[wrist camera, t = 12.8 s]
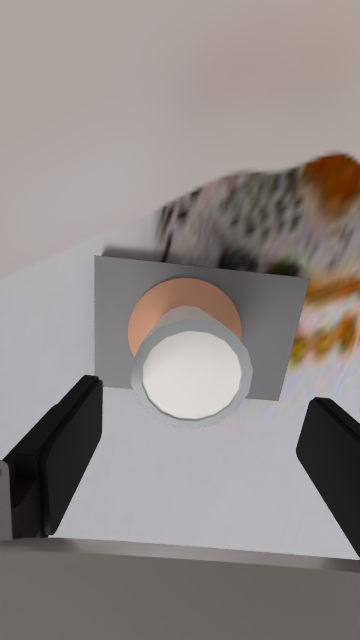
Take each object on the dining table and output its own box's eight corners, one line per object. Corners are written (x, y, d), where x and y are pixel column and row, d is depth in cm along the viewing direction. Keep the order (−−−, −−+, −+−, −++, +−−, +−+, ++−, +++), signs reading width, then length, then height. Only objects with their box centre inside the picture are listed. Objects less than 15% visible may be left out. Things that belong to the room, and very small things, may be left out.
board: (299, 277, 19) (310, 278, 17) (271, 391, 22) (278, 400, 20) (101, 256, 18) (94, 255, 17) (100, 377, 21) (94, 385, 20)
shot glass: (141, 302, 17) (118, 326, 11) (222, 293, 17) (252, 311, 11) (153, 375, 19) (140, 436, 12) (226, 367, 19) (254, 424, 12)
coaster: (249, 284, 18) (251, 284, 17) (230, 387, 20) (231, 390, 20) (131, 271, 17) (130, 271, 17) (126, 379, 20) (125, 381, 19)
